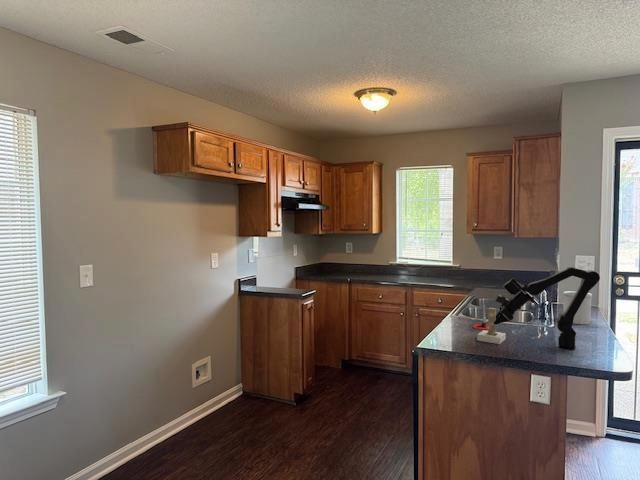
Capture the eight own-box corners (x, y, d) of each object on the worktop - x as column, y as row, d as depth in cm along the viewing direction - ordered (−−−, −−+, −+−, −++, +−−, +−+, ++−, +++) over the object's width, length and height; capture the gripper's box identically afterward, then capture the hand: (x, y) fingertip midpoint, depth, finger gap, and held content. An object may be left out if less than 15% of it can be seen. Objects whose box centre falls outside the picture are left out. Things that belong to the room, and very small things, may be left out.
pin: (496, 340, 219) (497, 309, 219) (492, 341, 218) (492, 309, 217) (491, 338, 223) (491, 307, 222) (486, 339, 221) (486, 308, 220)
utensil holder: (564, 318, 270) (564, 290, 269) (592, 321, 261) (592, 292, 260) (560, 322, 258) (561, 293, 257) (590, 326, 249) (591, 296, 248)
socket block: (505, 339, 221) (505, 333, 221) (500, 344, 212) (500, 338, 212) (483, 335, 228) (483, 330, 228) (477, 340, 219) (477, 334, 219)
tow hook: (485, 331, 238) (492, 327, 245) (485, 308, 237) (492, 305, 244) (470, 329, 244) (477, 325, 251) (470, 306, 243) (477, 303, 250)
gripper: (505, 287, 225) (482, 306, 230) (506, 292, 208) (481, 313, 213) (521, 303, 223) (498, 322, 227) (524, 310, 205) (498, 330, 210)
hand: (493, 321), depth 219 cm, fingers open, 9 cm apart
